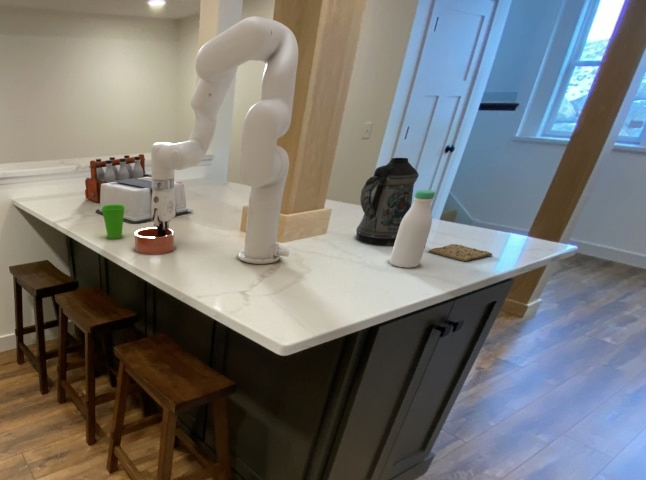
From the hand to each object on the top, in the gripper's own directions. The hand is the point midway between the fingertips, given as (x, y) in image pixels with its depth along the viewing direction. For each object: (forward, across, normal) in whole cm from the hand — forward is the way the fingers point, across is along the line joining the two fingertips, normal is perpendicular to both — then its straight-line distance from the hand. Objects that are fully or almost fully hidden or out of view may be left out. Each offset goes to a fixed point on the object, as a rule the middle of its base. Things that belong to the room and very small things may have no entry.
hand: (162, 240), depth 158 cm
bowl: (+1, -6, 0) cm, 6 cm away
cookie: (+1, +26, -90) cm, 93 cm away
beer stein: (+1, +32, -67) cm, 74 cm away
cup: (+2, +1, +21) cm, 21 cm away
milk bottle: (+1, +8, -76) cm, 76 cm away
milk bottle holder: (+2, +70, +63) cm, 94 cm away
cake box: (+2, +43, +34) cm, 55 cm away
